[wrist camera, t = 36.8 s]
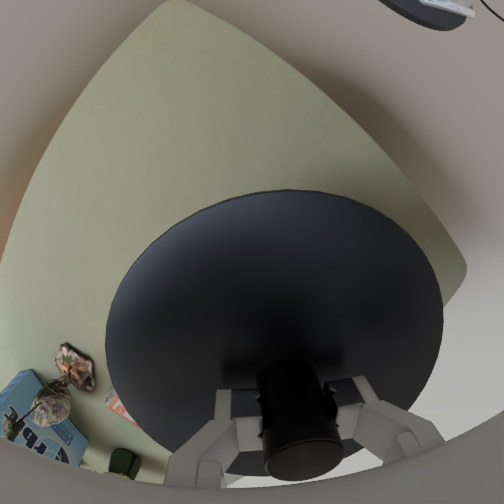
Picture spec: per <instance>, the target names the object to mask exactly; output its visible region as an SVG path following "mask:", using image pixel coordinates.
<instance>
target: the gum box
mask: <svg viewBox="0 0 504 504" xmlns="http://www.w3.org/2000/svg"><path fill="white" fill-rule="evenodd" d="M42 388H43V386H42V385H41V383H40V382H39V380H38V379H37V377H36V376H35V374H34V373H33V371H32V370H27V371H23V372H19V373H18V374H17V375H16V376H15V377H14V379H13V380H12V381H11V382H10V383H9V384H8V385H7V386H6V388H5V389H4V390H3V391H2V392H1V393H0V436H3V424H4V422H5V420H6V419H10V418H11V417H12V416H13V411H15V417H14V419H15V421H16V422H17V421H18V420H19V419H21V418H22V417H23V416H24V415H26V414H27V413H28V412H29V411H30V408H31V405H32V400H33V399H34V396H36V395H37V393H38V392H39V391H40V389H42ZM27 420H28V421H29V422H28V421H27ZM20 425H21V429H20V431H19V433H18V435H17V437H16V438H15V440H14V443H16V444H18V445H20V446H22V447H25V448H27V449H29V450H32V451H34V452H37V453H39V454H42V455H44V456H47V457H50V458H52V459H55V460H58V461H61V462H64V463H67V464H70V465H73V466H77V467H78V466H79V464H80V462H81V459H82V457H83V455H84V453H85V450H86V448H87V446H88V444H89V441H88V440H87V439H86V438H85V437H84V436H83V435H82V434H81V433H80V432H79V431H78V430H77V428H76V427H75V426H74V425H73V424H72V423H71V422H70V420H69V419H68V418H66V419H64V420H63V421H62V422H60V423H59V424H55V425H51V426H47V427H45V426H44V427H40V426H38V425H36V424H34V422H33V421H32V419H31V413H30V414H29V415H28V416H26V417H25V418H24V420H23V422H22V423H21V424H20Z"/></svg>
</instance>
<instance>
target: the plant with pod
mask: <svg viewBox="0 0 504 504" xmlns="http://www.w3.org/2000/svg"><path fill="white" fill-rule="evenodd" d="M73 352H74V350H71V349H70V350H69V348H68V346H67V345H66V344H61V346H60V351H59V353H58V354H57V355H56V356H57V357H56V356H55V357H56V358H57V359H55V362H57V363H56V366H57V368H58V370H59V375H60V376H61V378H58V379H54V380H50V381H49V382H47V383H46V385H45V386H44V387H43V388H42V389H40V391H39V392H38V393H37V395H36V396H34V399H33V400H32V405H31V408H30V411H29V412H28V413H27V414H26V415H24V416H23V417H22V418H21V419H19V420H18V421H17V422H16V421H15V419H14V417H15V411H13V416H12V417H11V418H10V419H6V420H5V422H4V424H3V436H2V437H4V438H6V439H8V440H10V441H12V442H14V440H15V438H16V437H17V435H18V433H19V431H20V429H21V425H20V424H21V423H22V422H23V420H24V418H25V417H26V416H28V415H29V414H30V413H31V419H32V421H33V422H34V424H36V425H38V426H40V427H44V426H45V427H47V426H51V425H55V424H59V423H60V422H62V421H63V420H64V419H66V418H67V417H68V415H69V413H70V411H71V400H72V398H71V394H70V391H69V389H68V388H67V387H68V386H69V384H70V383H72V384H74V385H76V386H77V387H79V388H82V389H83V390H84V391H86V392H90V393H91V392H92V389H93V386H94V385H93V384H95V383H94V382H95V381H94V380H93V378H92V377H91V376H92V375H93V373H92V372H91V370H92V369H91V368H90V367H92V366H91V365H92V363H91V362H90V361H89V359H88V361H87V359H86V358H82V356H80V359H79V355H77V357H76V353H73ZM27 421H28V420H27ZM28 422H29V421H28Z"/></svg>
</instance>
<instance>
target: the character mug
mask: <svg viewBox="0 0 504 504" xmlns="http://www.w3.org/2000/svg"><path fill="white" fill-rule="evenodd" d="M132 456H133V453H131V452H128V451H126V450H120V449H118V450H115V451H113V452H112V454H111V458H110V463H109V469H108V470H109V472H105V473H103V474H107V475H111V476H115V477H120V478H125V479H130V480H134V479H135V477H136V475H137V473H138V471H139V469H140V467H141V460H140V459H139V458H138V457H136V459H135V460H134V459H133V458H132ZM94 472H96V471H94Z"/></svg>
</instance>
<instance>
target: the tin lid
mask: <svg viewBox="0 0 504 504" xmlns="http://www.w3.org/2000/svg"><path fill="white" fill-rule="evenodd" d="M443 323H444V320H443V302H442V297H441V292H440V287H439V284H438V281H437V278H436V276H435V273H434V270H433V268H432V266H431V264H430V262H429V261H428V259H427V257H426V256H425V254H424V252H423V250H422V249H421V248H420V247H419V245H418V244H417V243H416V242H415V241H414V239H413V238H412V237H411V236H410V235H409V234H408V233H407V232H406V231H405V230H404V229H403V228H401V227H400V226H399V225H398V224H397V223H395V222H394V221H393V220H392V219H390V218H389V217H387V216H385V215H384V214H382V213H380V212H379V211H377V210H375V209H374V208H372V207H370V206H367V205H365V204H362V203H360V202H357V201H355V200H352V199H349V198H347V197H343V196H338V195H334V194H329V193H324V192H320V191H310V190H293V189H282V190H271V191H260V192H254V193H250V194H245V195H241V196H237V197H233V198H229V199H226V200H224V201H221V202H218V203H216V204H213V205H211V206H208V207H206V208H203V209H201V210H199V211H197V212H196V213H194V214H192V215H191V216H189V217H187V218H185V219H184V220H182V221H180V222H178V223H177V224H175V225H174V226H173V227H171V228H170V229H169V230H167V231H166V232H165V233H164V234H162V235H161V236H160V237H159V238H158V239H156V240H155V241H154V242H153V243H151V244H150V246H149V247H148V248H147V249H146V250H145V251H144V252H143V253H142V254H141V255H140V257H139V258H138V259H137V260H136V261H135V262H134V263H133V265H132V266H131V268H130V269H129V271H128V272H127V274H126V276H125V277H124V279H123V280H122V282H121V283H120V286H119V288H118V290H117V292H116V295H115V297H114V299H113V302H112V304H111V308H110V312H109V316H108V321H107V325H106V339H105V350H106V359H107V366H108V370H109V374H110V377H111V381H112V384H113V386H114V388H115V391H116V393H117V395H118V397H119V399H120V401H121V403H122V404H123V406H124V407H125V409H126V411H127V412H128V414H129V415H130V416H131V417H132V419H133V420H134V421H135V422H136V423H137V425H138V426H139V427H140V428H141V429H142V430H143V431H144V432H145V433H146V434H147V435H149V436H150V437H151V438H152V439H153V440H154V441H156V442H157V443H158V444H160V445H161V446H163V447H164V448H165V449H167V450H168V451H170V452H172V453H174V452H175V451H177V450H178V449H179V448H180V447H181V446H182V445H183V444H185V443H186V442H187V441H188V440H189V439H190V438H191V437H192V436H193V435H194V434H196V433H197V432H198V431H199V430H200V429H201V428H202V427H203V426H204V425H205V424H206V423H207V422H208V421H209V420H214V415H215V403H216V392H217V389H231V390H232V389H254V388H259V390H260V404H261V409H262V423H263V431H262V432H261V435H262V445H263V450H257V451H243V452H239V454H238V455H237V457H236V458H235V459H234V461H233V462H232V463H231V465H230V466H229V467H228V469H227V470H226V471H225V473H229V474H236V475H244V476H272V477H274V478H276V479H279V480H283V481H303V480H308V479H312V478H316V477H318V476H321V475H323V474H326V473H327V472H329V471H331V470H332V469H334V468H335V467H336V466H337V465H338V464H339V463H340V462H341V461H342V459H344V458H346V457H348V456H350V455H352V454H354V453H356V452H358V451H359V450H361V449H363V448H364V447H363V446H362V445H360V444H359V443H358V442H356V441H355V440H354V439H353V438H349V439H344V440H341V437H340V435H339V432H338V429H337V427H336V424H335V421H334V419H333V416H332V413H331V411H330V408H329V406H328V403H327V400H326V398H325V394H324V391H323V386H324V383H325V382H327V381H334V380H340V379H346V378H350V377H355V376H360V375H363V376H365V378H366V379H367V381H368V382H369V384H370V386H371V387H372V389H373V391H374V392H375V394H376V395H377V397H378V399H379V400H380V401H381V400H384V401H386V402H388V403H391V404H393V405H395V406H397V407H399V408H401V409H404V410H406V411H408V410H409V408H410V407H411V406H412V405H413V403H414V402H415V401H416V399H417V398H418V396H419V395H420V393H421V392H422V390H423V389H424V387H425V385H426V383H427V381H428V378H429V377H430V375H431V373H432V370H433V368H434V365H435V363H436V360H437V357H438V353H439V349H440V345H441V341H442V333H443Z"/></svg>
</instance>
